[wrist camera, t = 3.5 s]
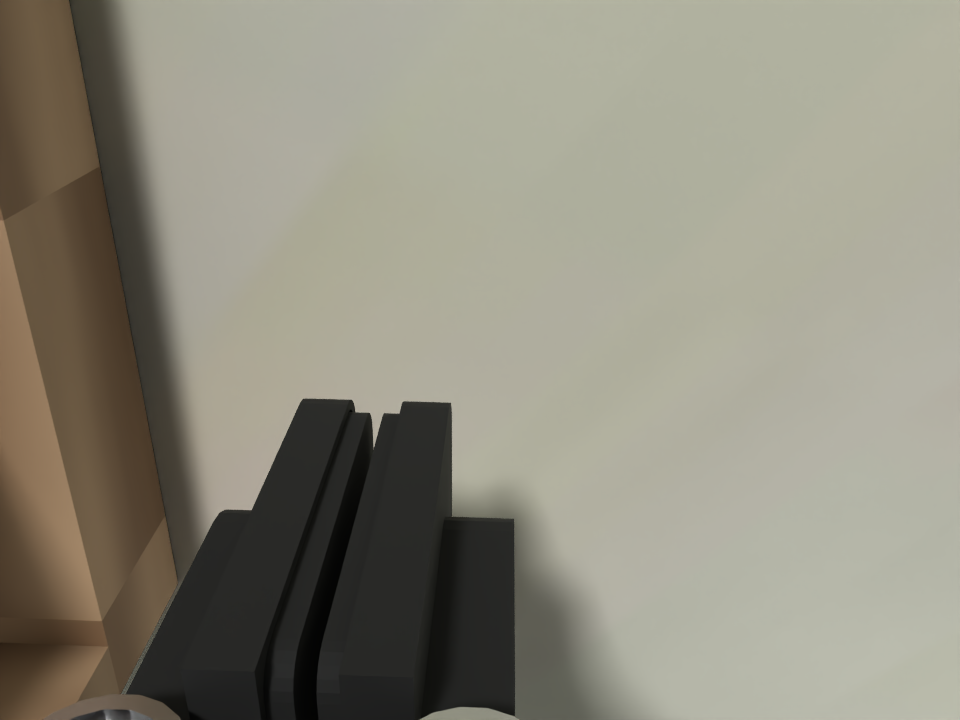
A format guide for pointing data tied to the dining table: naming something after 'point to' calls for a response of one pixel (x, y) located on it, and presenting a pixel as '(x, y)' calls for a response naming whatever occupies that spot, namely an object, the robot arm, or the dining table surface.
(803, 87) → the dining table surface
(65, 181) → the tray
